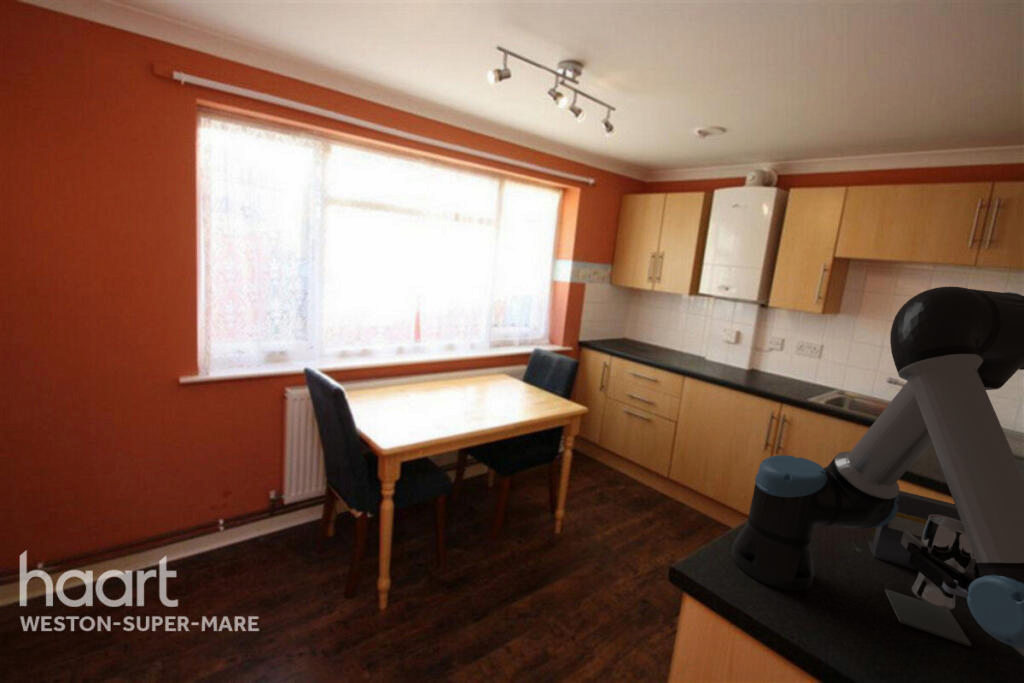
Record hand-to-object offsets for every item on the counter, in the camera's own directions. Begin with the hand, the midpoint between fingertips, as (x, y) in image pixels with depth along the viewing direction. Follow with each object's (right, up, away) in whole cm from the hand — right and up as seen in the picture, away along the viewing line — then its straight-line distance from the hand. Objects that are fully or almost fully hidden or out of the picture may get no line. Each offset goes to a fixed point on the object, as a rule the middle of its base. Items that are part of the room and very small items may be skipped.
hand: (925, 541), depth 91 cm
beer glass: (-2, -9, -4) cm, 10 cm away
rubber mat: (-2, -13, -2) cm, 14 cm away
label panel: (+12, -12, +13) cm, 21 cm away
